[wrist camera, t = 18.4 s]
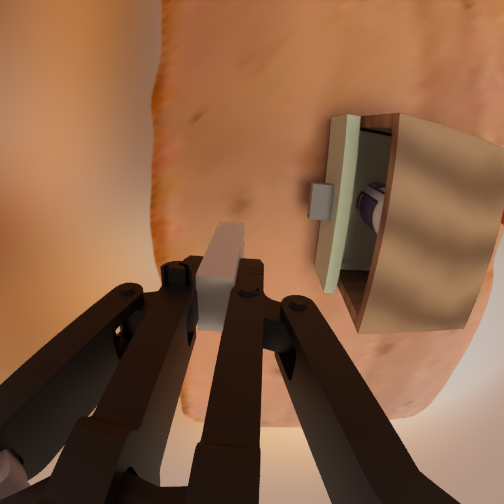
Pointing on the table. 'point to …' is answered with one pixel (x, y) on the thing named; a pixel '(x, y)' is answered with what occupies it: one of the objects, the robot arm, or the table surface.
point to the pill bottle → (370, 204)
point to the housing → (428, 229)
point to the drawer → (346, 199)
